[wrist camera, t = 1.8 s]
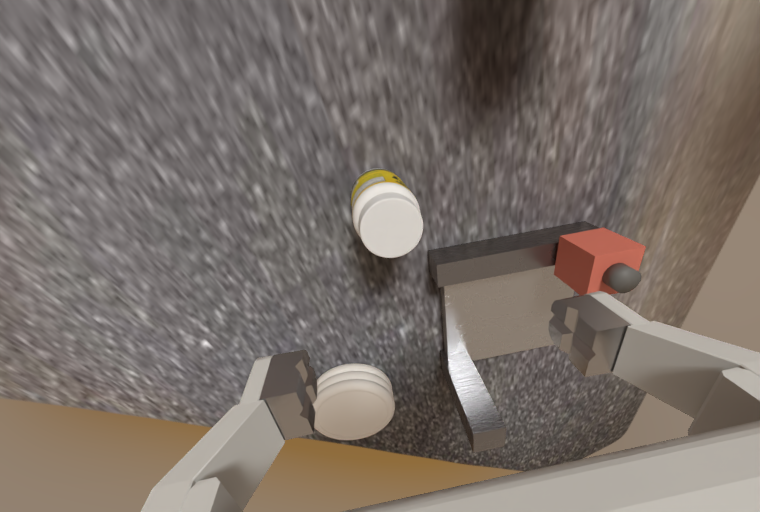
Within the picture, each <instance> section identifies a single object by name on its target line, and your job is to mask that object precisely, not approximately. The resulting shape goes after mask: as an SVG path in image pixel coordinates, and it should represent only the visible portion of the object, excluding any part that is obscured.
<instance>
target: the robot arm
mask: <svg viewBox="0 0 760 512" xmlns="http://www.w3.org/2000/svg"><path fill="white" fill-rule="evenodd" d="M551 311H552V313H553V314H554V316H553V317H552V319H551V320H550V321H549V327H548V330H549V334H550V337H551V339H552V341H553V343H554V344H555V345H556V346H557V347H558V348H559V350H562V351H564V352H566V353H568V354H569V360H570V362H571V363H572V364H573V365H574V366H575V367H576V368H577V369H578V370H579V371H580V372H581V373H582V374H583V376H584V377H588V376H594V375H600V374H605V373H611V372H613V373H612V374H614V375H616V376H618V377H619V378H621V379H623V380H625V381H627V382H629V383H630V384H632V385H634V386H636V387H638V388H640V389H641V390H643V391H645V392H647V393H649V394H651V395H652V396H654V397H656V398H658V399H660V400H662V401H663V402H665V403H667V404H669V405H671V406H673V407H674V408H676V409H678V410H680V411H682V412H684V413H685V414H687V415H689V416H691V417H693V418H694V421H693V422H692V424H691V426H690V428H689V430H688V436H686V437H681V438H677V439H672V440H667V441H663V442H659V443H654V444H650V445H645V446H640V447H635V448H631V449H626V450H622V451H618V452H613V453H608V454H603V455H599V456H594V457H589V458H585V459H580V460H576V461H571V462H566V463H562V464H557V465H553V466H548V467H544V468H539V469H534V470H530V471H525V472H521V473H517V474H512V475H507V476H502V477H498V478H493V479H489V480H484V481H480V482H475V483H471V484H466V485H461V486H457V487H453V488H448V489H443V490H439V491H434V492H430V493H425V494H420V495H416V496H411V497H407V498H402V499H398V500H393V501H388V502H384V503H379V504H375V505H370V506H366V507H361V508H357V509H352V510H347V511H343V512H760V353H759V352H756V351H752V350H749V349H746V348H742V347H739V346H736V345H732V344H729V343H726V342H722V341H719V340H716V339H713V338H709V337H706V336H703V335H699V334H696V333H693V332H690V331H686V330H683V329H680V328H676V327H673V326H670V325H666V324H663V323H660V322H656V321H651V322H649V321H648V320H646V319H645V318H643V317H642V316H640V315H639V314H637V313H636V312H634V311H633V310H631V309H630V308H628V307H627V306H625V305H624V304H622V303H621V302H619V301H618V300H616V299H615V298H613V297H612V296H610V295H609V294H607V293H606V292H602V291H597V292H593V293H588V294H584V295H579V296H575V297H570V298H565V299H560V300H555V301H554V302H553V304H552V307H551ZM309 362H310V357H309V355H308V352H307V351H306V350H300V351H295V352H289V353H283V354H277V355H274V356H268V357H262V358H258V359H257V360H256V361H255V362H254V365H253V367H252V370H251V373H250V376H249V378H248V381H247V384H246V387H245V390H244V392H243V395H242V398H241V401H240V403H239V405H235V406H233V407H232V408H231V409H230V410H229V411H228V412H227V413H226V414H225V415H224V416H223V417H222V418H221V419H220V420H219V422H218V423H217V424H216V425H215V426H214V427H213V428H212V429H211V430H210V431H209V432H208V433H207V434H206V435H205V436H204V437H203V438H202V439H201V440H200V441H199V442H198V443H197V444H196V445H195V446H194V447H193V448H192V449H191V450H190V451H189V452H188V453H187V454H186V455H185V456H184V457H183V458H182V459H181V460H180V461H179V462H178V463H177V464H176V465H175V466H174V467H173V468H172V469H171V470H170V471H169V472H168V473H167V474H166V475H165V477H163V478H162V479H161V481H159V483H158V484H157V485H156V486H155V487H154V488H153V489H152V491H151V493H150V495H149V497H148V498H147V501H146V502H145V504H144V506H143V508H142V510H141V512H243V510H244V508H245V506H246V505H247V503H248V501H249V499H250V498H251V497H252V495H253V493H254V492H255V490H256V488H257V487H258V485H259V484H260V482H261V480H262V479H263V477H264V476H265V474H266V472H267V471H268V469H269V467H270V466H271V464H272V463H273V461H274V459H275V458H276V456H277V454H278V453H279V451H280V450H281V448H282V446H283V445H284V443H285V441H284V440H288V439H292V438H297V437H301V436H305V435H309V434H313V433H314V423H315V413H316V412H315V409H314V407H313V403H314V402H315V401H316V399H317V379H316V374H315V371H314V368H312V367H311V366H309Z"/></svg>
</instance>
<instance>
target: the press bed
mask: <svg viewBox="0 0 760 512" xmlns="http://www.w3.org/2000/svg"><path fill="white" fill-rule="evenodd" d="M594 229H599V228H598V227H596V226H594V225H592V224H590V223H587V222H585V221H584V222H578V223H573V224H568V225H562V226H557V227H552V228H546V229H541V230H536V231H530V232H525V233H520V234H514V235H509V236H504V237H498V238H493V239H488V240H482V241H477V242H471V243H466V244H461V245H455V246H450V247H445V248H439V249H434V250H429V251H428V259H429V271H430V273H431V275H432V277H433V279H434V281H435V283H436V285H437V286H438V288H439V287H440V292H441V307H442V323H443V339H444V350H442V351H440V356H441V368H442V371H443V374H444V376H445V379H446V382H447V384H448V387H449V390H450V392H451V395H452V397H453V400H454V403H455V405H456V408H457V411H458V413H459V416H460V419H461V421H462V424H463V427H464V429H465V432H466V434H467V437H468V440H469V442H470V445H471V448H472V450H473V453H475V452H480V451H485V450H490V449H495V448H499V447H504V446H505V435H506V426H505V424H504V422H503V420H502V418H501V416H500V414H499V412H498V410H497V408H496V406H495V404H494V403H493V401H492V399H491V397H490V395H489V393H488V391H487V389H486V387H485V385H484V383H483V381H482V379H481V377H480V375H479V373H478V371H477V369H476V367H475V366H474V364H473V362H472V361H474V360H479V359H484V358H489V357H494V356H499V355H504V354H509V353H514V352H519V351H524V350H529V349H534V348H539V347H544V346H549V345H554V343H553V341H552V339H551V337H550V334H549V330H548V327H549V321H550V320H551V319H552V317H553V316H554V314H553V313H552V311H551V307H552V304H553V302H554V301H555V300H560V299H565V298H570V297H573V294H574V290H573V289H572V288H570V287H569V286H568V285H567V284H565V283H564V282H563V281H561V280H560V279H559V278H558V277H556V276H555V275H554V270H555V263H556V257H557V250H558V244H559V237H560V236H562V235H567V234H572V233H578V232H583V231H588V230H594Z"/></svg>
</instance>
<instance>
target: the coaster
mask: <svg viewBox="0 0 760 512" xmlns="http://www.w3.org/2000/svg"><path fill="white" fill-rule="evenodd" d="M393 397H394V396H393V391H392V385H391V382H390V380H389V378H388V377H387V376H386V374H385V373H384V372H382V371H381V370H379V369H378V368H376V367H373V366H370V365H366V364H360V363H352V364H344V365H340V366H337V367H334V368H332V369H330V370H328V371H326V372H325V373H323V374H322V375H321V376H320V377H319V378H318V379H317V399H316V401H315V402H314V403H313V407H314V409H315V412H316V413H315V423H314V428H315V429H316V430H318V431H319V432H320V433H322V434H323V435H325V436H327V437H330V438H333V439H338V440H357V439H362V438H365V437H368V436H371V435H373V434H375V433H377V432H379V431H380V430H382V429H383V428H384V427H385V426H386V425H387V424H388V423H389V422H390V420H391V419H392V417H393V415H394V411H395V402H394V399H393Z"/></svg>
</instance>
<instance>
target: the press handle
mask: <svg viewBox="0 0 760 512" xmlns="http://www.w3.org/2000/svg"><path fill="white" fill-rule="evenodd" d="M645 248H646V246H643V245H641V244H639V243H637V242H634V241H632V240H630V239H628V238H626V237H623V236H621V235H619V234H617V233H614V232H612V231H610V230H608V229H605V228H599V229H594V230H588V231H583V232H578V233H572V234H567V235H562V236H560V237H559V244H558V250H557V257H556V263H555V270H554V275H555V276H556V277H558V278H559V279H560V280H561V281H563V282H564V283H565V284H567V285H568V286H569V287H570V288H572V289H573V290H574V291H576V292H577V293H578V294H579V295H584V294H588V293H593V292H597V291H602V292H606V293H607V294H609V295H610V294H615V293H627V292H629V291H631V290H633V289H634V288H635V287H636V286H637V285H638V284H639V282H640V280H641V273H640V272H639V268H640V264H641V261H642V258H643V255H644V252H645Z"/></svg>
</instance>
